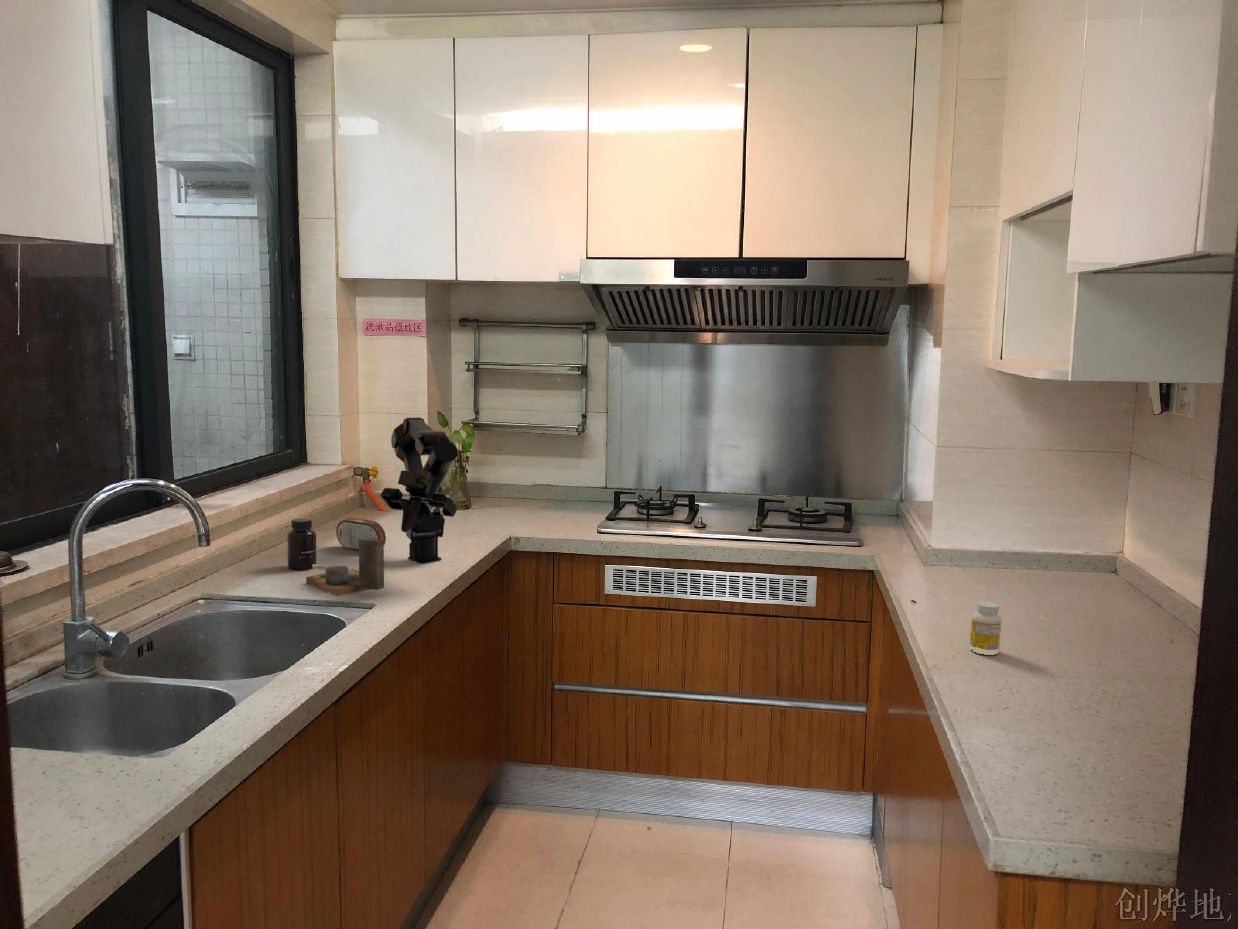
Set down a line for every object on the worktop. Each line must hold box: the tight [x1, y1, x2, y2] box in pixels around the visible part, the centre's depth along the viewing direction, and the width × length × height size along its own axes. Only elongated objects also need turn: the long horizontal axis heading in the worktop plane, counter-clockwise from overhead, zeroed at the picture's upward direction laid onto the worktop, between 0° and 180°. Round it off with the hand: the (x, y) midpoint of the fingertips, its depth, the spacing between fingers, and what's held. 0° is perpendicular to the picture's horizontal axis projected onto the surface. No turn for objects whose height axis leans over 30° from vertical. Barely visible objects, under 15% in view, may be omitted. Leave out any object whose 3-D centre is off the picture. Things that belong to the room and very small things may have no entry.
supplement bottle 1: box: [286, 517, 317, 571], centre depth 231 cm, size 7×7×12 cm
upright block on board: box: [312, 537, 385, 591], centre depth 211 cm, size 20×5×11 cm, turn 65°
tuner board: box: [305, 568, 370, 597], centre depth 217 cm, size 12×14×2 cm
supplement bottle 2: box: [969, 600, 1003, 650], centre depth 181 cm, size 5×5×10 cm
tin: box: [336, 517, 387, 552], centre depth 250 cm, size 15×3×8 cm, turn 65°
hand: (403, 531), depth 217 cm, fingers closed
